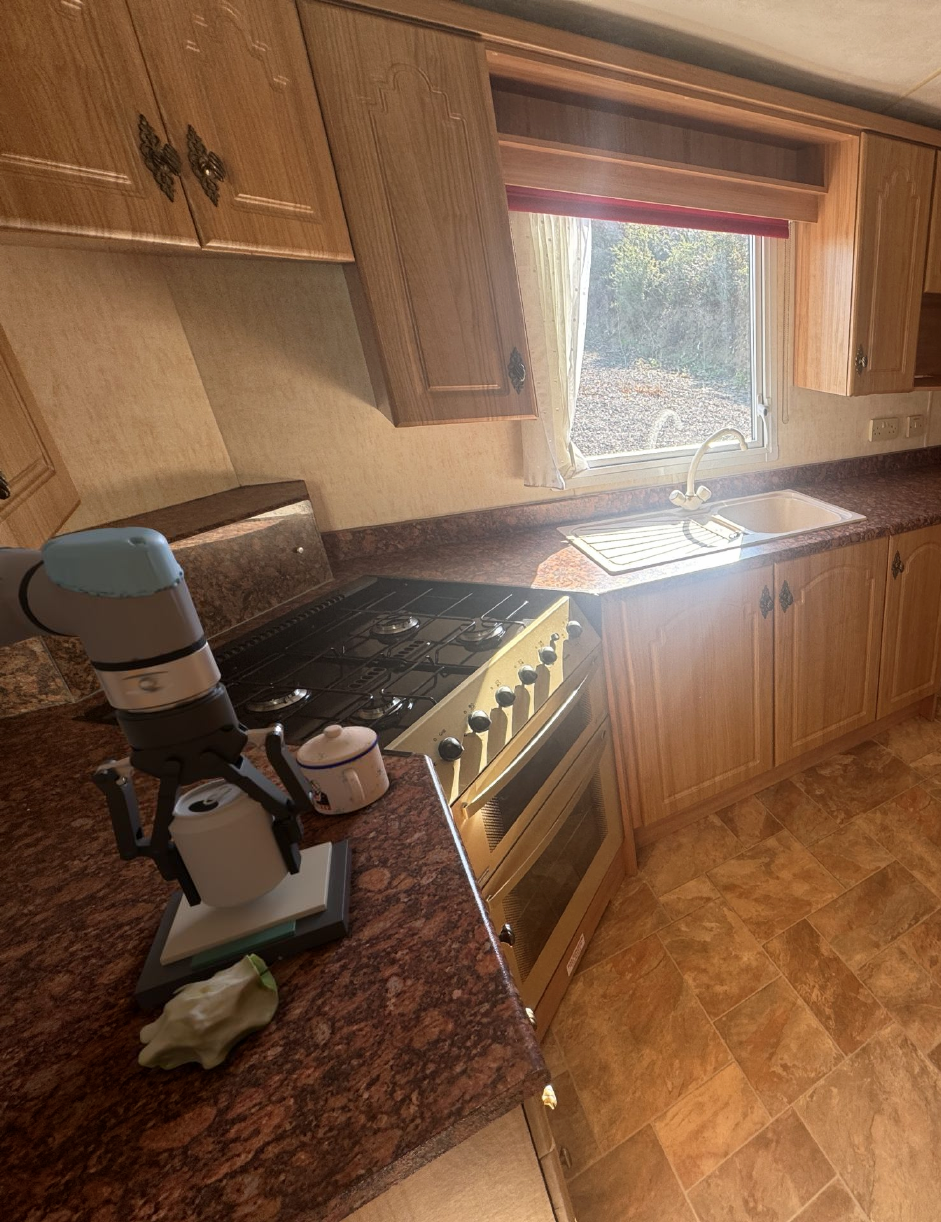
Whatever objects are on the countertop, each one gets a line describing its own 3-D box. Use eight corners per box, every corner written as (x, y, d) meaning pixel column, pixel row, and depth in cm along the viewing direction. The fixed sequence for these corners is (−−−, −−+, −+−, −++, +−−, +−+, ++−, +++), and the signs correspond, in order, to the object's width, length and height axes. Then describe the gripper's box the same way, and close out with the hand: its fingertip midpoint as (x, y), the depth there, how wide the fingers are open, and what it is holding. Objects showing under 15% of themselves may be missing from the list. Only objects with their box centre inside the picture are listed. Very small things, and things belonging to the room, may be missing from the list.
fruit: (306, 987, 65) (296, 934, 61) (248, 1090, 56) (233, 1035, 53) (197, 988, 62) (181, 934, 59) (121, 1095, 54) (97, 1039, 51)
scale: (145, 1016, 60) (129, 988, 59) (181, 913, 71) (168, 887, 70) (350, 940, 68) (340, 914, 67) (354, 858, 79) (346, 834, 78)
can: (184, 905, 66) (139, 812, 61) (258, 854, 73) (223, 766, 68) (241, 920, 64) (199, 825, 60) (311, 866, 71) (278, 777, 67)
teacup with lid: (308, 798, 89) (283, 727, 85) (383, 770, 95) (363, 703, 91) (325, 842, 82) (299, 766, 77) (406, 809, 88) (385, 737, 83)
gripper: (-12, 746, 52) (104, 950, 60) (301, 684, 62) (361, 866, 70) (28, 705, 57) (128, 896, 66) (308, 654, 68) (363, 826, 76)
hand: (248, 880), depth 68 cm, fingers closed on can, 7 cm apart
